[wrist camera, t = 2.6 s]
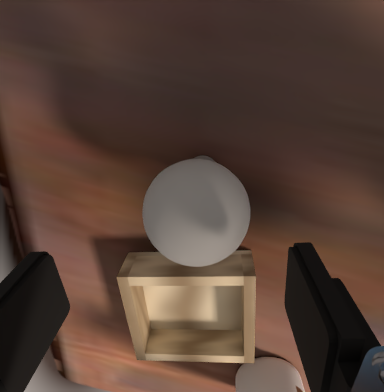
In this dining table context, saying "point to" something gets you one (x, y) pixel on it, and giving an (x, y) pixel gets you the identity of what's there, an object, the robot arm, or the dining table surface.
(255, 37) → the dining table surface
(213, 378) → the dining table surface
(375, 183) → the dining table surface
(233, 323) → the holder
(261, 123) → the dining table surface
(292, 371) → the milk bottle
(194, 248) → the lightbulb
